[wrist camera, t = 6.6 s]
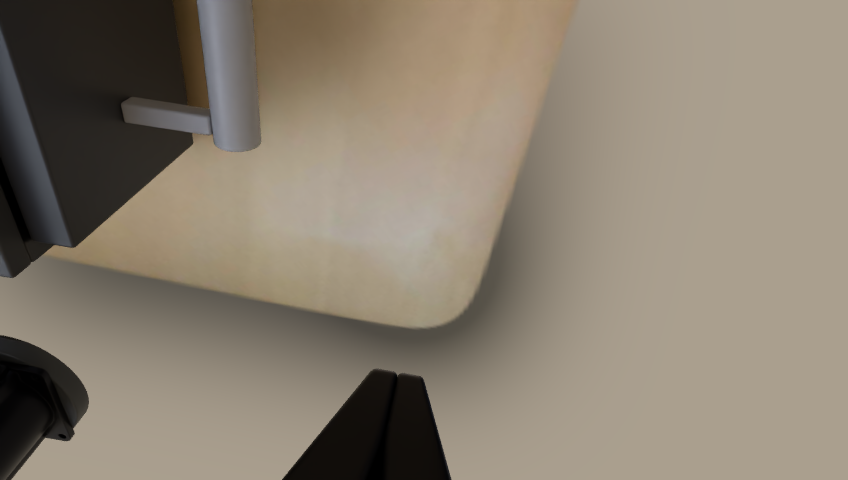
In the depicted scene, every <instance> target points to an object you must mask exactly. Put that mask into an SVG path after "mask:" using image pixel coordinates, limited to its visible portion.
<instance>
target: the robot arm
mask: <svg viewBox="0 0 848 480" xmlns="http://www.w3.org/2000/svg"><path fill="white" fill-rule="evenodd" d="M74 434H75V433H74V430H73V428H72V426H71V423H70V421H69V419H68V416H67V414H66V412H65V409H64V407H63V405H62V402H61V400H60V398H59V395H58V393H57V391H56V388H55V386H54V384H53V381H52V379H51V377H50V374H49V373H48V372H47V371H46V370H45V369H43V368H40V367H35V366H29V365H24V364H18V363H12V362H6V361H1V360H0V480H11V479H12V478H13V477H14V476H15V474H16V473H17V472H18V470H19V469H20V468H21V467H22V466H23V464H24V463H25V462H26V461H27V459H28V458H29V457H30V456H31V455H32V453H33V452H34V451H35V450H36V448H37V447H38V446H39V444H40V443H41V442H42V441H43V440H44V438H51V439H56V440H62V441H69V440H70V439H71V438H72V437H73V435H74ZM282 480H451V477H450V473H449V470H448V466H447V462H446V459H445V455H444V452H443V448H442V444H441V441H440V437H439V433H438V430H437V426H436V423H435V419H434V415H433V412H432V408H431V404H430V401H429V397H428V394H427V390H426V386H425V383H424V380H423V378H422V377H421V376H416V375H411V374H405V373H401V374H399V375H398V377H397V374H396V373H395V372H394V371H388V370H382V369H373V370H372V371H371V372H370V373H369V374H368V375H367V376H366V378H365V379H364V380H363V381H362V383H361V384H360V385H359V386H358V388H357V389H356V390H355V391H354V392H353V394H352V395H351V396H350V397H349V398H348V400H347V401H346V402H345V403H344V405H343V406H342V407H341V408H340V409H339V411H338V412H337V413H336V414H335V416H334V417H333V418H332V419H331V420H330V422H329V423H328V424H327V425H326V427H325V428H324V429H323V430H322V431H321V433H320V434H319V435H318V436H317V437H316V439H315V440H314V441H313V442H312V444H311V445H310V446H309V447H308V449H307V450H306V451H305V452H304V453H303V455H302V456H301V457H300V458H299V459H298V461H297V462H296V463H295V464H294V466H293V467H292V468H291V469H290V470H289V472H288V473H287V474H286V476H285V477H284V478H283V479H282Z"/></svg>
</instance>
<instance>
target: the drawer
mask: <svg viewBox="0 0 848 480" xmlns="http://www.w3.org/2000/svg"><path fill="white" fill-rule="evenodd" d="M197 8H198V16H199V24H200V32H201V40H202V49H203V57H204V65H205V73H206V81H207V89H208V98H209V106H210V109H208V108H201V107H195V106H188V103H187V96H186V89H185V83H184V76H183V69H182V62H181V55H180V48H179V42H178V35H177V28H176V21H175V14H174V7H173V1H172V0H0V183H1V186H2V188H3V191H4V194H5V196H8V195H9V194H11V193H13V192H14V195H15V198H16V200H17V203H18V205H19V208H20V211H21V213H22V216H23V219H24V221H25V224H26V227H27V229H28V232H29V235H30V237H31V240H32V241H34V242H40V243H46V244H52V245H59V246H65V247H71V248H74V247H76V246H77V245H78V244H79V243H81V242H82V241H83V240H84V239H85V238H86V237H87V236H89V235H90V234H91V233H92V232H93V231H94V230H95V229H97V228H98V227H99V226H100V225H101V224H102V223H103V222H105V221H106V220H107V219H108V218H109V217H110V216H111V215H113V214H114V213H115V212H116V211H117V210H118V209H119V208H120V207H122V206H123V205H124V204H125V203H126V202H127V201H128V200H130V199H131V198H132V197H133V196H134V195H135V194H136V193H138V192H139V191H140V190H141V189H142V188H143V187H144V186H146V185H147V184H148V183H149V182H150V181H151V180H152V179H154V178H155V177H156V176H157V175H158V174H159V173H160V172H162V171H163V170H164V169H165V168H166V167H167V166H168V165H170V164H171V163H172V162H173V161H174V160H175V159H176V158H178V157H179V156H180V155H181V154H182V153H183V152H184V151H186V150H187V149H188V148H189V147H190V146H191V145H192V144H193V137H192V133H197V134H203V135H212V134H213V139H214V144H215V145H216V146H217V147H218V148H220V149H222V150H225V151H231V152H243V151H249V150H252V149H255V148H257V147H258V146H259V145H260V144H261V128H260V113H259V98H258V83H257V68H256V53H255V38H254V23H253V8H252V0H197Z"/></svg>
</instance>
